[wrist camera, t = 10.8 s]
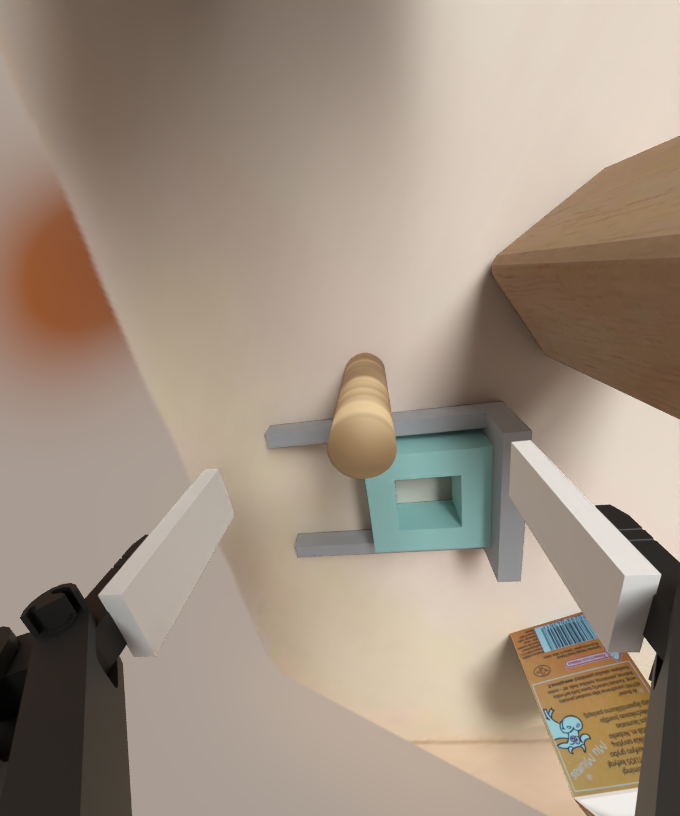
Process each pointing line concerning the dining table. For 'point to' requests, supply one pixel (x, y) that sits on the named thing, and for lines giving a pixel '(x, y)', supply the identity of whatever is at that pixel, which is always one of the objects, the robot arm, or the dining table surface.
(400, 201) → the dining table surface
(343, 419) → the dowel
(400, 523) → the teal square ring
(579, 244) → the block
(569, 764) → the milk carton
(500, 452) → the track
